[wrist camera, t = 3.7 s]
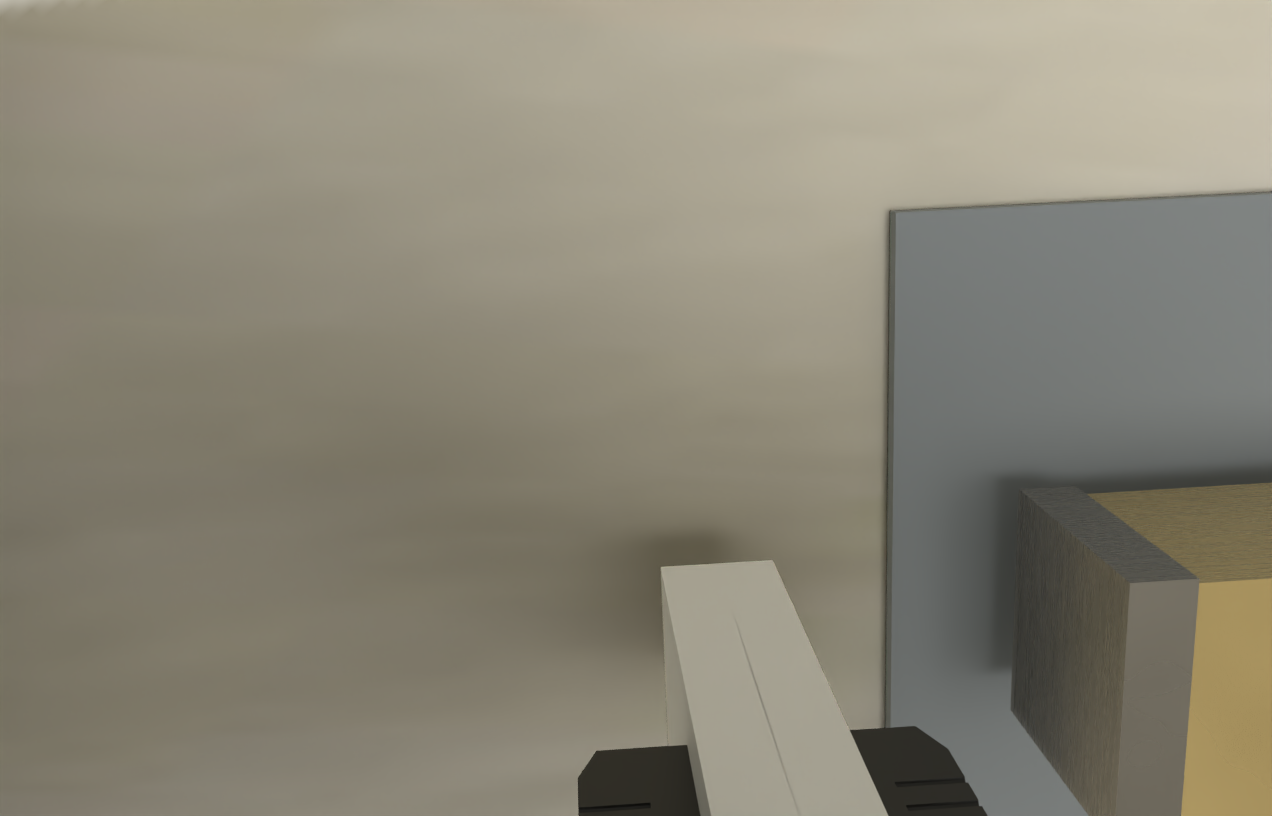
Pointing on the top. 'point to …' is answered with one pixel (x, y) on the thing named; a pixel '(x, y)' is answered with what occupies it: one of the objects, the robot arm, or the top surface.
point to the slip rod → (1148, 646)
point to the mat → (1050, 423)
